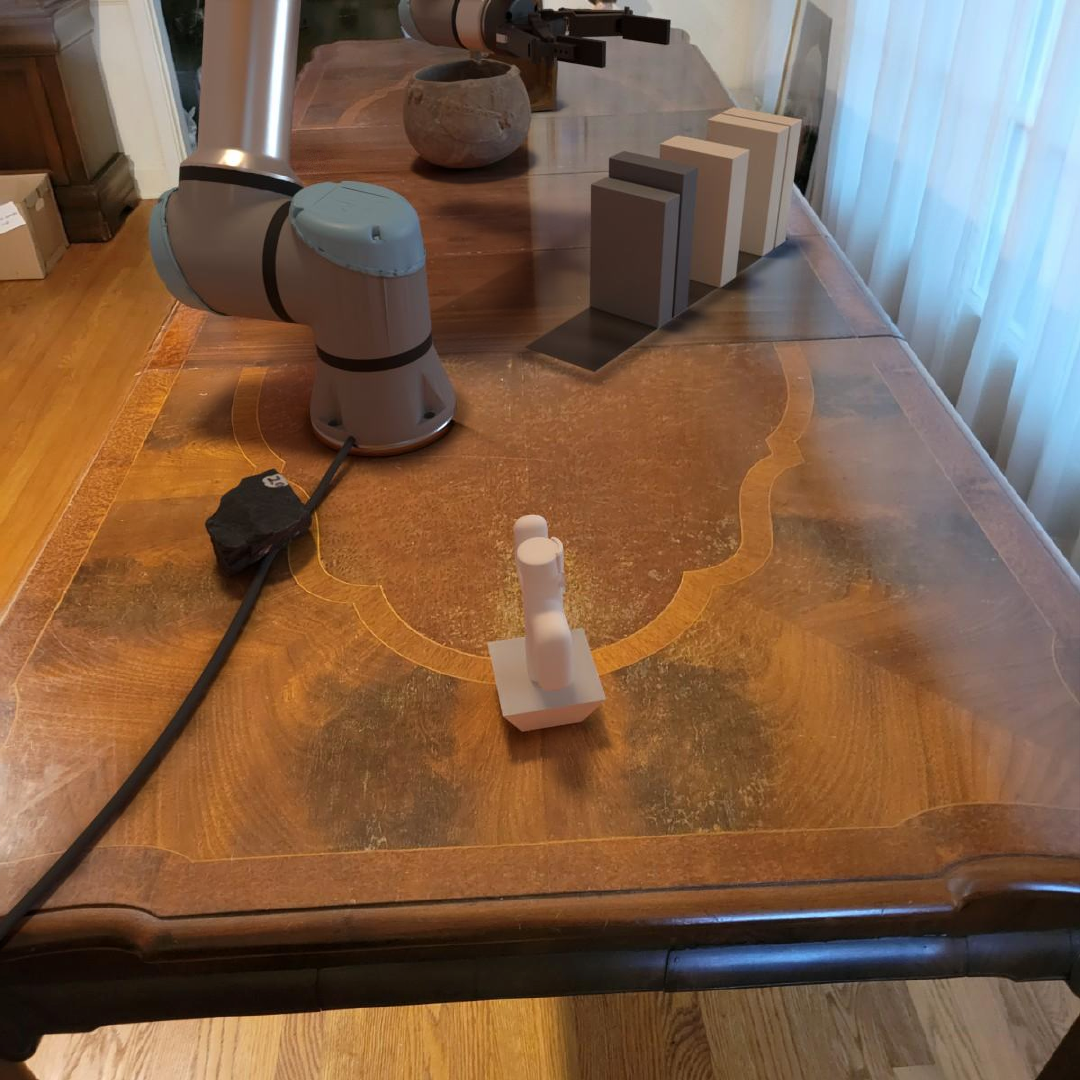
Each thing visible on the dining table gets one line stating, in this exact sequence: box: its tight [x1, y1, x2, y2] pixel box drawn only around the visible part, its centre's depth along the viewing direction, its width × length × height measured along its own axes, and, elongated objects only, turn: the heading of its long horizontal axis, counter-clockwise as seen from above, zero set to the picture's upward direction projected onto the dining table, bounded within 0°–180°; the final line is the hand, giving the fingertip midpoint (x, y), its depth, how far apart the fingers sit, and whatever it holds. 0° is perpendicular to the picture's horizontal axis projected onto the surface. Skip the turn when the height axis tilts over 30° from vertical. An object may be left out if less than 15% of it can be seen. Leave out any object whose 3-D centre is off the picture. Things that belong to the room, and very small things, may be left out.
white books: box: [705, 107, 803, 257], centre depth 130 cm, size 6×10×16 cm, turn 52°
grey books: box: [589, 150, 698, 329], centre depth 115 cm, size 6×10×17 cm, turn 52°
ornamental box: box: [469, 0, 559, 113], centre depth 197 cm, size 35×18×18 cm, turn 5°
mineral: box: [204, 468, 313, 577], centre depth 86 cm, size 10×9×6 cm
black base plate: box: [524, 237, 790, 373], centre depth 124 cm, size 46×10×1 cm, turn 142°
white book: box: [659, 134, 750, 289], centre depth 122 cm, size 4×10×16 cm, turn 52°
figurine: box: [487, 514, 607, 732], centre depth 67 cm, size 7×9×15 cm
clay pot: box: [402, 58, 532, 169], centre depth 162 cm, size 21×21×15 cm
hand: (637, 43), depth 116 cm, fingers open, 13 cm apart
